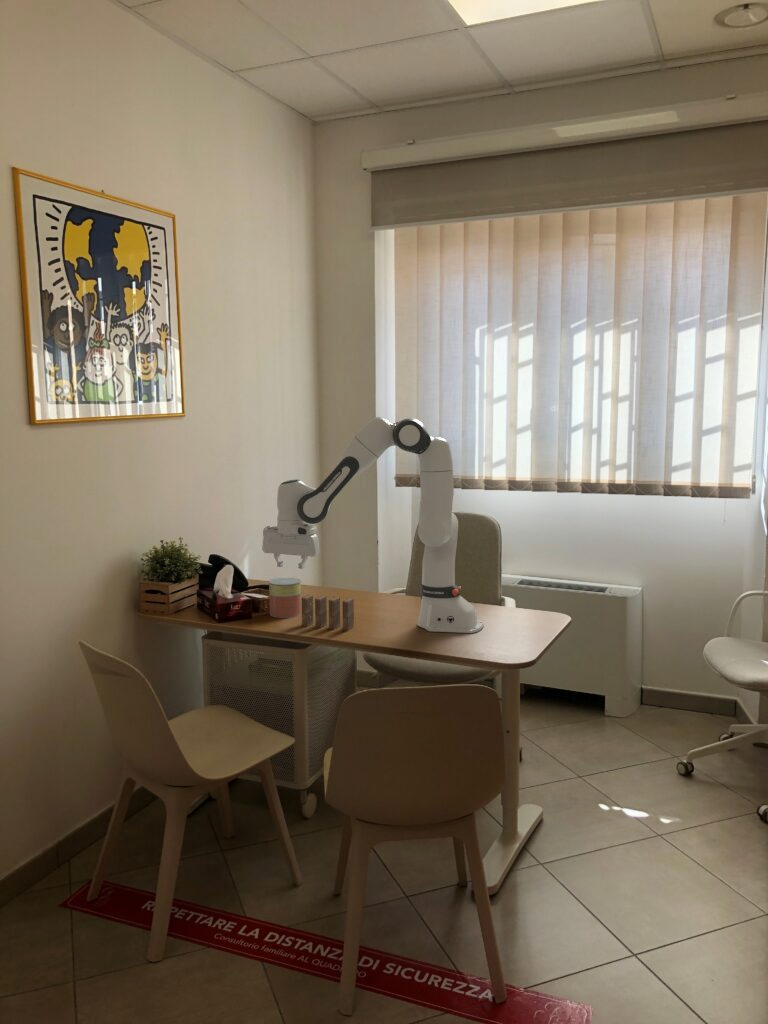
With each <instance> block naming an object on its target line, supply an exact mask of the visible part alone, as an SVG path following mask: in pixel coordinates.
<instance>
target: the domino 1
mask: <svg viewBox="0 0 768 1024" xmlns="http://www.w3.org/2000/svg"><path fill="white" fill-rule="evenodd" d="M313 624H314V595H313V594H306V595H304V596H301V627H302V628H303V627H304V628H308V627H310V626H312V625H313Z"/></svg>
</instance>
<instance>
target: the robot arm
mask: <svg viewBox="0 0 768 1024" xmlns="http://www.w3.org/2000/svg"><path fill="white" fill-rule="evenodd" d="M394 446H396V447H398V448H399V449H401V450H402V451H405V452H409V453H411V454H416V455H417V457H418V460H419V481H420V482H419V483H420V501H419V513H418V515H419V516H418V529H417V535H418V538H419V540H420V542H421V543H422V544H423V545H424V551H423V557H422V559H421V560H422V561H421V562H422V563H421V564H422V566H421V567H422V568H421V570H422V571H421V572H422V573H421V576H422V578H421V584H420V590H419V591H420V593H419V594H420V600H421V601H420V603H421V604H420V609H419V611H420V612H419V615H418V620H417V623H416V624H417V626H418V627H419V628H420V627H421V628H422V629H425V630H426V631H428V632H435V633H437V632H438V633H439V632H442V633H460V634H463V633H465V634H473V633H476V632H480V631H481V630H482V629H484V625H485V624H484V621H482V620H480V619H478V615H477V610H476V608H475V606H474V605H473V604H471V603H470V602H469V601H468V600H466V598H464V597H463V596H462V595H461V590H462V589H461V588H462V586H461V585H460V586H459V585H457V584H456V583H455V582H456V579H455V576H456V572H455V571H456V570H455V569H456V554H457V547H458V533H459V519H458V518H457V516H456V514H455V513H453V501H454V494H455V493H454V492H455V490H454V465H453V458H452V457H453V456H452V451H451V447H450V443H449V442H448V441H447V440H446V439H444V438H443V437H438V436H431V435H430V434H429V433H428V431H427V428H426V426H425V424H423V422H422V421H420V420H419V419H418V418H414V417H406V418H402V420H400V421H397V422H395V423H392V422H390V421H389V420H388V419H386V418H384V417H381V416H375V417H373V418H372V419H371V420H369V421H368V422H367V423H366V424H364V425H363V426H362V427H361V428H360V429H359V430H358V432H356V433H355V434H354V436H352V438H351V439H350V440H349V442H348V443H347V444H346V447H345V448H344V449H343V451H342V453H341V455H340V458H339V459H338V461H337V464H336V465H335V467H334V468H333V470H332V471H331V472H330V474H329V475H328V476H327V477H326V478H325V479H324V480H323V481H322V482H321V484H320V485H319V486H318V487H316V488H315V487H312V486H310V485H308V484H306V483H305V482H303V481H302V480H301V479H290V480H286V481H283V482H282V483H280V484H279V485H278V488H277V497H276V499H277V500H276V504H277V505H276V506H277V511H278V513H277V517H276V520H277V526H272V525H271V526H270V525H267V526H265V527H264V528H263V530H262V538H263V540H262V544H261V545H262V547H261V548H262V549H261V550H262V551H263V553H264V554H273V558H274V560H275V562H276V568H277V567H278V568H282V567H283V566H284V561H283V560H282V559H281V558H280V557H281V555H289V556H300V557H301V562H299V563H298V567H297V568H298V569H300V570H304V569H305V564H306V562H307V560H308V557H311V558H312V557H313V558H314V557H316V556H318V555H319V554H320V539H319V537H318V535H317V534H316V533H317V532H318V527H317V526H315V525H313V524H319V523H321V522H323V520H324V519H325V518H326V517H327V514H328V513H329V511H330V509H331V507H332V502H333V501H334V499H336V497H337V496H338V494H339V493H340V492H341V491H342V490H343V489H344V488H345V486H346V485H347V484H348V483H350V482H351V481H352V480H353V479H354V478H356V477H358V476H359V475H361V474H362V473H363V472H365V471H367V470H368V469H369V468H370V467H371V466H373V465H374V464H375V463H376V462H377V461H378V459H379V458H380V457H382V455H383V454H384V453H385V451H386V450H388V449H389V448H390V447H394Z"/></svg>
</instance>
